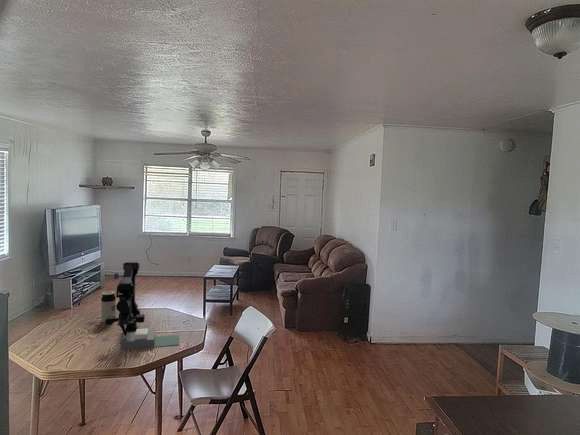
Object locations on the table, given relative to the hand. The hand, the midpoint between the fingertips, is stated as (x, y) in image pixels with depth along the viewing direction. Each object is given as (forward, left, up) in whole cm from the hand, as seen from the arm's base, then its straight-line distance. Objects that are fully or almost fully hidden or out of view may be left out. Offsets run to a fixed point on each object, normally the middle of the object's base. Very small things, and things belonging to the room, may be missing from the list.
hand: (125, 335), depth 199 cm
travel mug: (-41, -14, -5) cm, 44 cm away
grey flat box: (0, +7, -5) cm, 8 cm away
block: (0, +8, -1) cm, 8 cm away
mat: (0, +21, -5) cm, 22 cm away
